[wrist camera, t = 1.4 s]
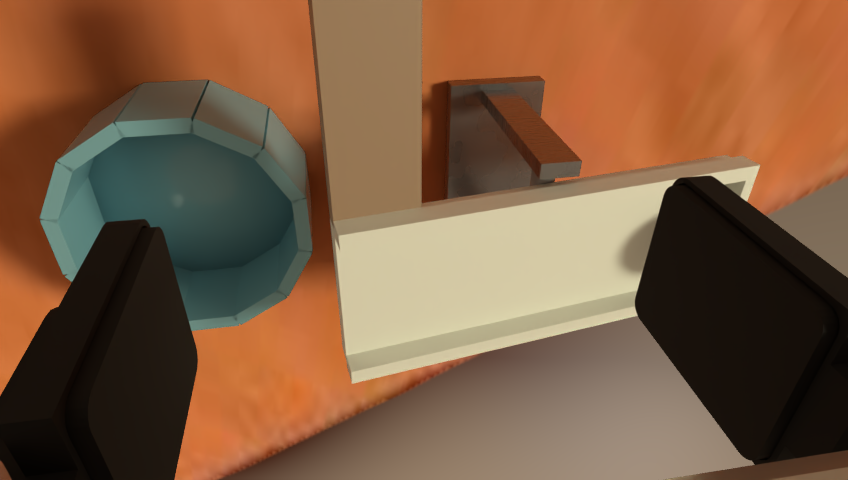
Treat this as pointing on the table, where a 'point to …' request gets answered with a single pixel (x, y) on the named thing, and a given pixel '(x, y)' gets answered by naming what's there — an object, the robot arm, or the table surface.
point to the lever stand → (500, 137)
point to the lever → (462, 216)
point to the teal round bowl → (191, 194)
